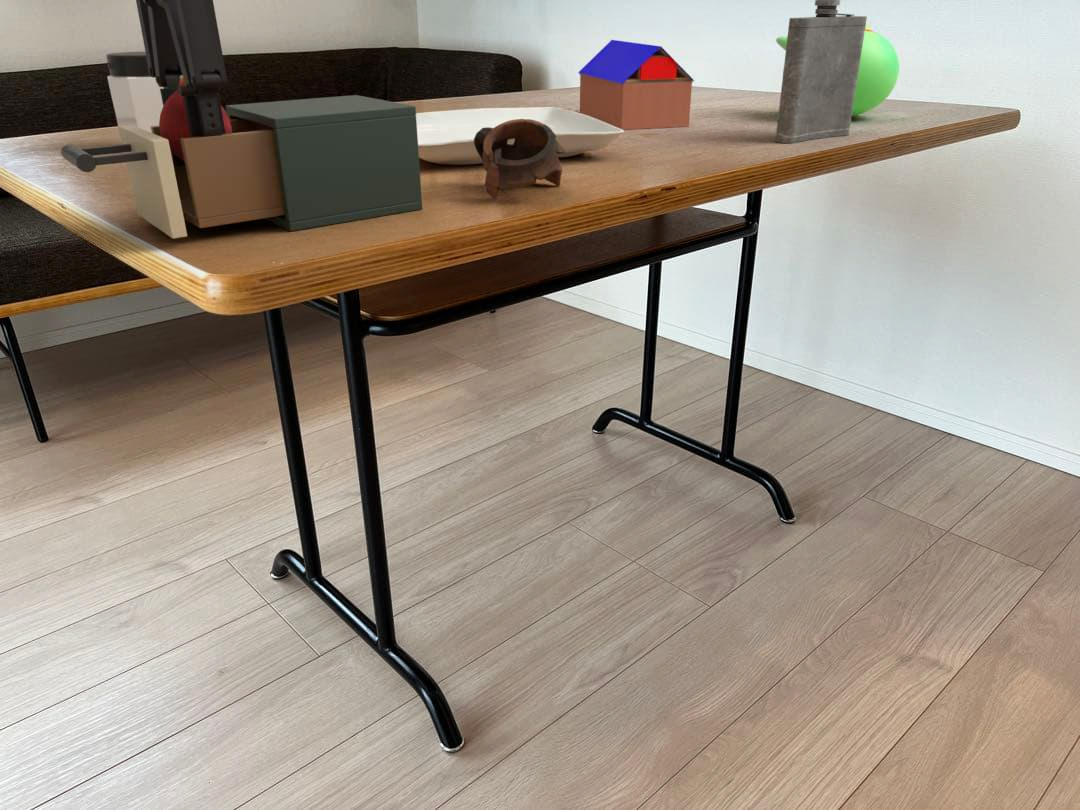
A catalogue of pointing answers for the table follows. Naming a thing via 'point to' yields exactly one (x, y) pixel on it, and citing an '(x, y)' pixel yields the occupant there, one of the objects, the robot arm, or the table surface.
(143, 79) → the jar
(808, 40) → the flask
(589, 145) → the square plate
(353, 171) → the cabinet
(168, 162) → the drawer
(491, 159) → the pottery mug
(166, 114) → the onion
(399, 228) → the table surface
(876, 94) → the toy bird
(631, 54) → the house
